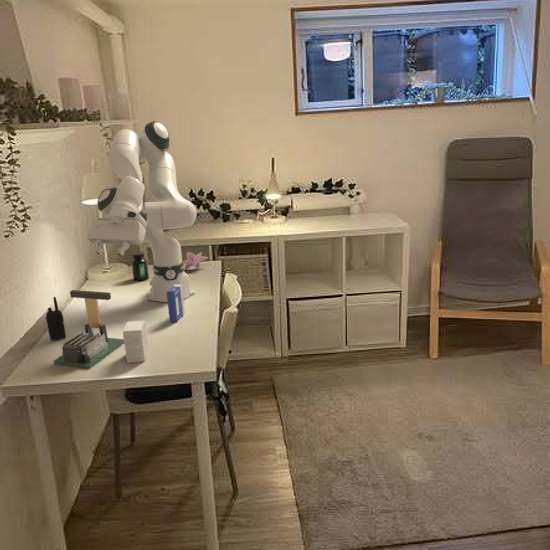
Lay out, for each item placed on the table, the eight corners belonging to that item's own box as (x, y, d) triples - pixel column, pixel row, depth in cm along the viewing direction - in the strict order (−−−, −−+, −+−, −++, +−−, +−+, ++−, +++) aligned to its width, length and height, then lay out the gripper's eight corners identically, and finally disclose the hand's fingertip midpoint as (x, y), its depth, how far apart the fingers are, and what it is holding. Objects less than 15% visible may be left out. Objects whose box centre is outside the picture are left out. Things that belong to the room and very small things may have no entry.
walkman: (177, 322, 201) (173, 290, 198) (169, 322, 202) (166, 290, 198) (185, 314, 209) (182, 283, 205) (178, 314, 209) (175, 283, 206)
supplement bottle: (146, 281, 250) (143, 255, 246) (131, 281, 250) (128, 255, 247) (150, 276, 256) (147, 251, 253) (135, 277, 257) (132, 251, 253)
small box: (131, 352, 179) (126, 321, 176) (148, 350, 179) (145, 320, 176) (126, 363, 172) (122, 331, 168) (145, 361, 172) (141, 330, 169)
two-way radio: (67, 335, 194) (60, 295, 190) (65, 341, 190) (57, 299, 186) (50, 337, 193) (43, 296, 189) (47, 342, 189) (40, 300, 185)
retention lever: (78, 324, 184) (72, 289, 180) (115, 328, 180) (110, 292, 176) (75, 326, 183) (69, 291, 179) (112, 329, 178) (107, 294, 175)
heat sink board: (91, 339, 190) (88, 316, 188) (125, 342, 186) (121, 319, 184) (54, 364, 173) (49, 339, 171) (90, 368, 169) (86, 343, 167)
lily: (212, 270, 266) (206, 251, 267) (206, 267, 254) (200, 247, 255) (189, 278, 267) (183, 259, 268) (182, 276, 255) (175, 256, 256)
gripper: (90, 212, 192) (77, 247, 186) (143, 213, 186) (130, 250, 180) (100, 222, 198) (87, 257, 192) (151, 224, 191) (139, 259, 185)
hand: (108, 253), depth 186 cm, fingers open, 7 cm apart
